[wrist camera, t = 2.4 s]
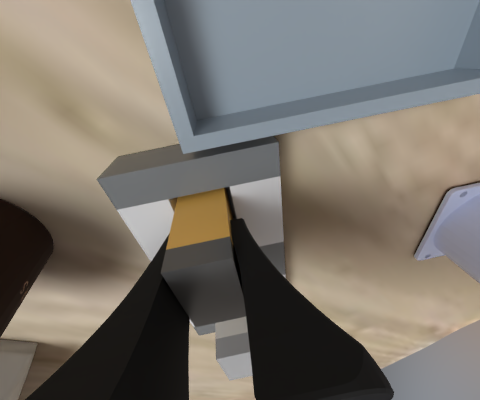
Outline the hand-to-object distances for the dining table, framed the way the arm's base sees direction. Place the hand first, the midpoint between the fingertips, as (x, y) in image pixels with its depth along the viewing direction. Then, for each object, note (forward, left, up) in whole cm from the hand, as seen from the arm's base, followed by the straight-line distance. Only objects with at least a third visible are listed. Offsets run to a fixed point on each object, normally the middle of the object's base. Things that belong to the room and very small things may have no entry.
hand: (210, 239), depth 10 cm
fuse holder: (0, +4, -3) cm, 5 cm away
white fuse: (0, +8, -3) cm, 9 cm away
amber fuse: (0, 0, -3) cm, 3 cm away
